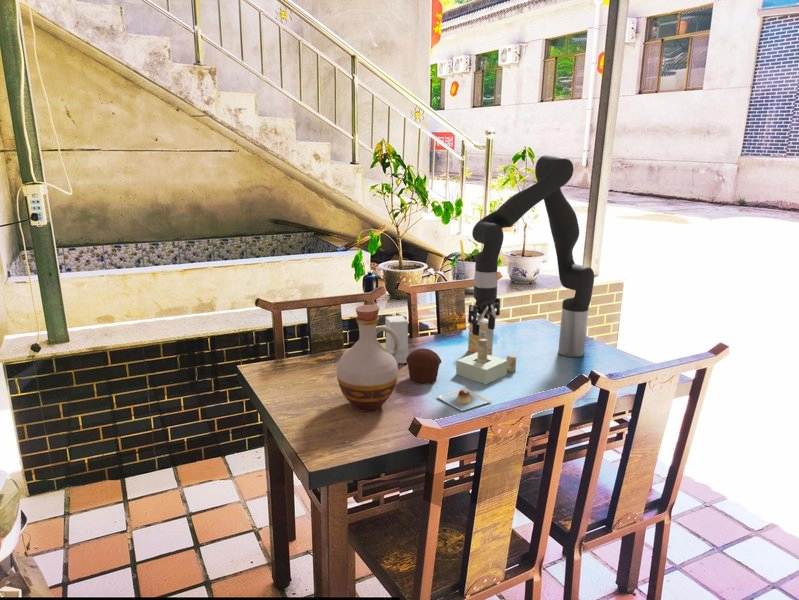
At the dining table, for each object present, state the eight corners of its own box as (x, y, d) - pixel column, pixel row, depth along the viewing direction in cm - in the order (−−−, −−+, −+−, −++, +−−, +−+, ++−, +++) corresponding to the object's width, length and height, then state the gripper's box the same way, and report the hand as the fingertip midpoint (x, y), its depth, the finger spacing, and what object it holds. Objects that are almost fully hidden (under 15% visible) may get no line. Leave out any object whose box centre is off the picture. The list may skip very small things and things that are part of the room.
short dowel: (509, 368, 207) (510, 354, 206) (517, 370, 205) (518, 357, 204) (504, 370, 205) (504, 356, 204) (512, 373, 203) (512, 359, 202)
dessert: (435, 399, 183) (436, 385, 181) (465, 391, 189) (466, 376, 188) (461, 414, 173) (462, 399, 172) (492, 404, 180) (492, 389, 179)
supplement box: (467, 351, 224) (468, 317, 220) (476, 348, 227) (477, 315, 223) (483, 357, 217) (485, 322, 214) (492, 354, 221) (494, 320, 217)
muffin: (398, 379, 196) (399, 350, 193) (418, 370, 205) (419, 342, 202) (428, 389, 189) (429, 359, 187) (447, 378, 198) (448, 350, 195)
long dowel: (480, 372, 204) (482, 338, 201) (488, 374, 201) (490, 340, 198) (474, 374, 201) (476, 340, 198) (482, 377, 199) (484, 342, 196)
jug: (382, 387, 190) (383, 295, 182) (414, 408, 175) (416, 309, 167) (326, 401, 179) (324, 304, 172) (355, 424, 165) (354, 320, 157)
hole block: (477, 365, 210) (478, 351, 208) (506, 374, 202) (507, 360, 200) (456, 374, 201) (456, 360, 200) (485, 384, 193) (486, 369, 192)
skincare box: (408, 364, 210) (409, 321, 206) (389, 365, 208) (390, 322, 204) (402, 355, 218) (403, 314, 214) (384, 357, 216) (384, 315, 212)
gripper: (489, 278, 201) (487, 324, 205) (462, 286, 191) (461, 334, 195) (507, 282, 196) (505, 329, 200) (481, 290, 186) (479, 339, 190)
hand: (483, 331), depth 198 cm, fingers open, 8 cm apart
